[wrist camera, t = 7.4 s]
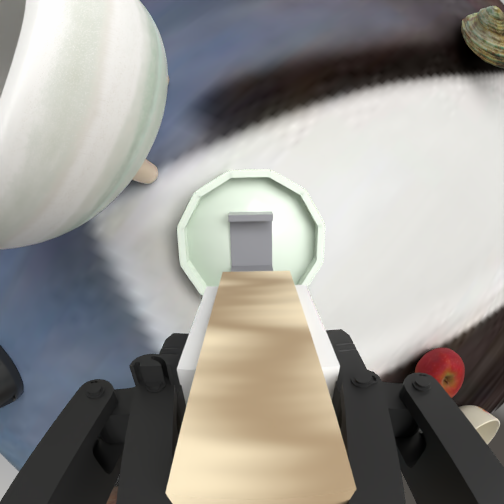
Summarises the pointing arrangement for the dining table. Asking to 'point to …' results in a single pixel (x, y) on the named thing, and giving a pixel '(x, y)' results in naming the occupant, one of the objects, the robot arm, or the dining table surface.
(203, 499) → the tan wooden block
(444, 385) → the apple
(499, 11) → the seashell
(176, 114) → the dining table surface
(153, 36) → the planter
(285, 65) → the dining table surface
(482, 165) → the dining table surface
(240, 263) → the dish
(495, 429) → the bowl
